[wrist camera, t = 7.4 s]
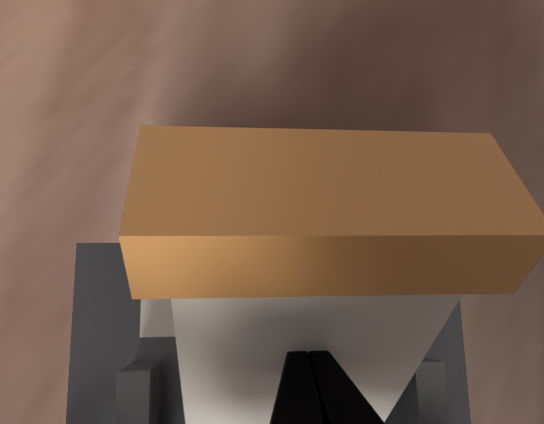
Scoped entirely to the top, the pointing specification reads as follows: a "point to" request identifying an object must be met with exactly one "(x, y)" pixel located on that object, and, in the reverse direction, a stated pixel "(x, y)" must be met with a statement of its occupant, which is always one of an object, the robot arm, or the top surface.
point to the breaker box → (164, 360)
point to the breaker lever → (317, 251)
